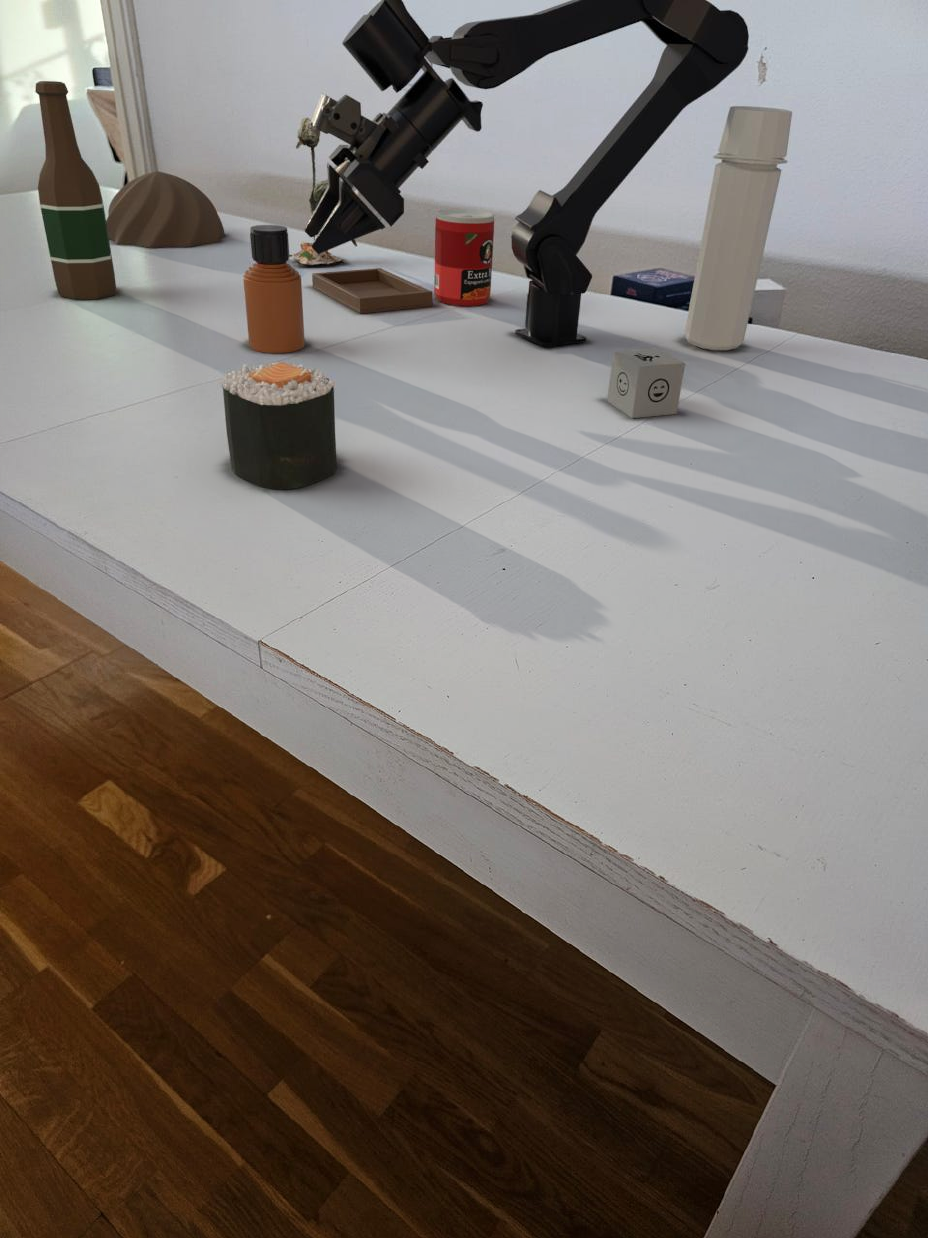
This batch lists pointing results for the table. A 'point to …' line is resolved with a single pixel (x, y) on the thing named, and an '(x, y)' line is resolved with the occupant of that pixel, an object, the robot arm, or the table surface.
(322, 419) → the sushi
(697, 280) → the water bottle
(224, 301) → the table surface
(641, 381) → the dice cube
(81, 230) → the beer bottle
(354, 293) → the tray
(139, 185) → the decorative dome
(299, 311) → the bottle
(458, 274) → the canned food
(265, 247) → the cap
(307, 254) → the plant with pod
